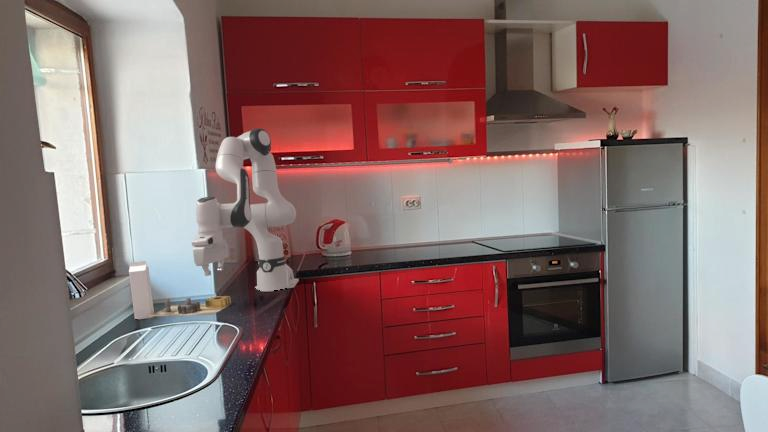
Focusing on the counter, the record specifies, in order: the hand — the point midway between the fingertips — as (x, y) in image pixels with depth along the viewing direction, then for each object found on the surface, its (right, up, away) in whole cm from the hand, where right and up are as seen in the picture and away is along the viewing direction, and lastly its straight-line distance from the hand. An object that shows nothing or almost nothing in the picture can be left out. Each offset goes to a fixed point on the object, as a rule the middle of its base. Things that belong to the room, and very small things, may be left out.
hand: (214, 273), depth 202 cm
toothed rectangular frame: (+1, -13, +2) cm, 13 cm away
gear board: (-8, -16, -1) cm, 18 cm away
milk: (-27, -17, -1) cm, 32 cm away
